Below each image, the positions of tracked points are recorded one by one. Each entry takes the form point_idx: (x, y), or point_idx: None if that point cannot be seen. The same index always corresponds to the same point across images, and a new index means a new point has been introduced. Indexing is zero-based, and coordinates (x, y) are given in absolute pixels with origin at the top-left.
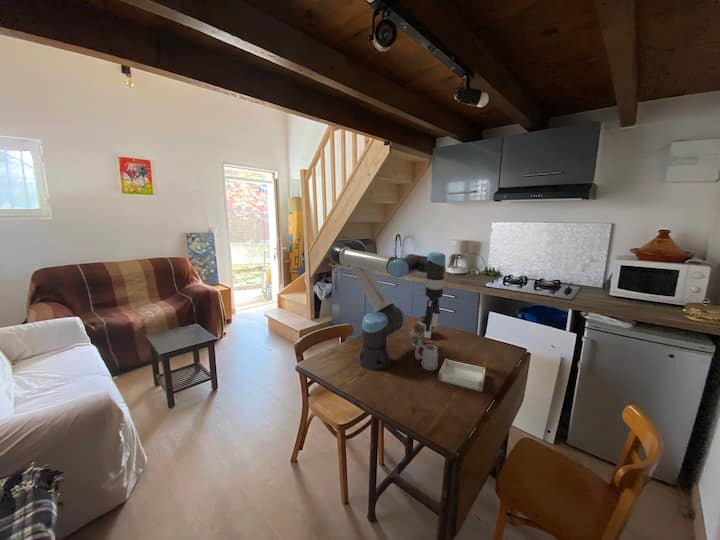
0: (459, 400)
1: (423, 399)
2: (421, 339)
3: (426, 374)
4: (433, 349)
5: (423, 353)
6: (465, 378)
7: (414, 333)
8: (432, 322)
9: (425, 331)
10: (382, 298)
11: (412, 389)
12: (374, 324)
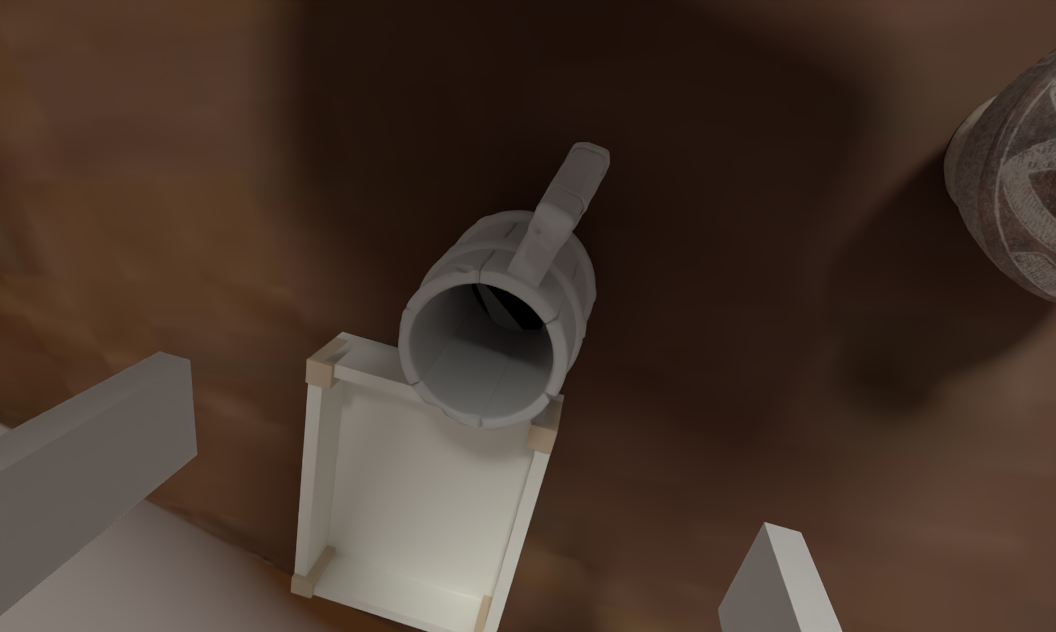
0: (196, 427)
1: (103, 228)
2: (971, 217)
3: (395, 250)
4: (549, 369)
5: (454, 253)
6: (404, 501)
7: None
8: (782, 628)
9: (33, 438)
10: None
11: (165, 147)
12: None
